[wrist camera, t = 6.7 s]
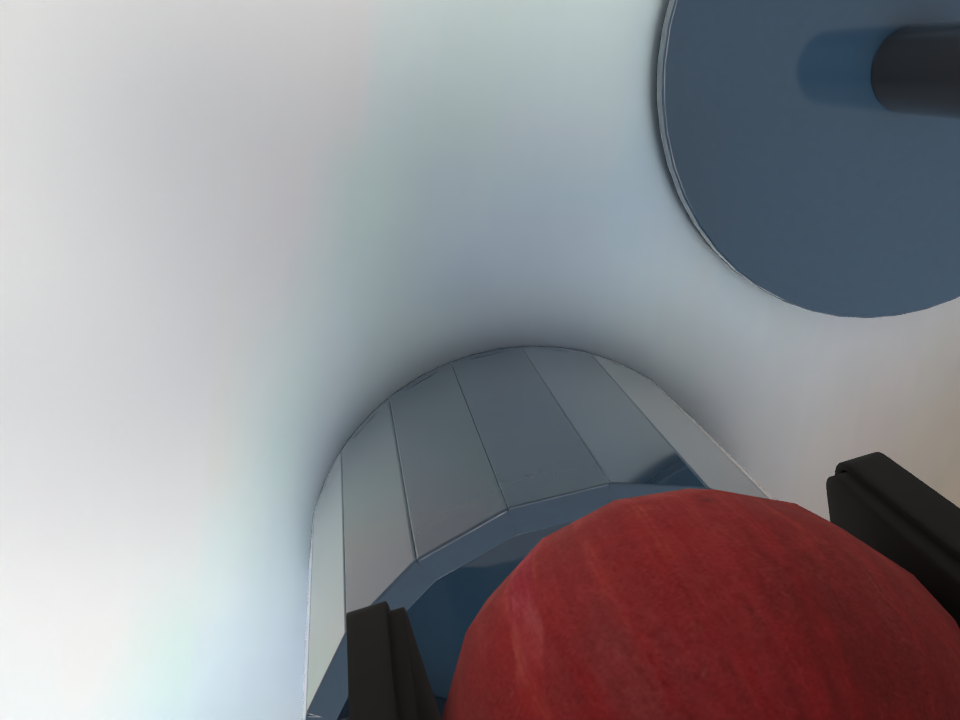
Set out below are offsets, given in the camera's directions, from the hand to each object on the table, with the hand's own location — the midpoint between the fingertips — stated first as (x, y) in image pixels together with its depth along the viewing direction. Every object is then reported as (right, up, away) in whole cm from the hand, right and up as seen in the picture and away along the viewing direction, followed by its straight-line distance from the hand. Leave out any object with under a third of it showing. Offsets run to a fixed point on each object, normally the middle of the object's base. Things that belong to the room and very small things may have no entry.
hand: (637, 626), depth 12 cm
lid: (+12, +13, +18) cm, 25 cm away
